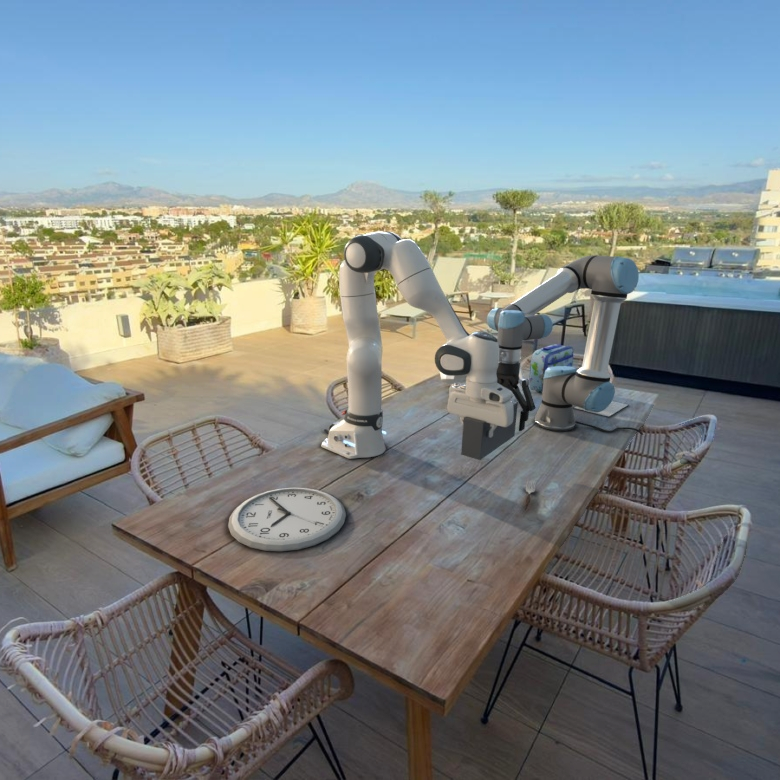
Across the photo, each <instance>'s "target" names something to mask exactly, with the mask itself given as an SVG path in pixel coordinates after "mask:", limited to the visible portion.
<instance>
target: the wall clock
mask: <svg viewBox="0 0 780 780" xmlns="http://www.w3.org/2000/svg"><path fill="white" fill-rule="evenodd" d="M346 518H347V513H346V509H345V506H344V505H343V503H341V501H340V500H339V499H338V498H336V497H334V496H332V495H331V494H330V493H327V492H324V491H321V490H318V489H313V488H308V487H283V488H277V489H272V490H267V491H264V492H261V493H258V494H255V495H253V496H252V497H250V498H248V499H246V500H244V501H243V502H242V503H240V504H239V505H238V506H237V507H236V508H234V510H233V511H232V513H231V514H230V516H229V518H228V524H227V528H228V530H229V532H230V535H231V536H232V538H234V539H235V540H236V541H237V542H238V543H239V544H242V545H244V546H246V547H249V548H251V549H256V550H261V551H266V552H287V551H288V552H289V551H299V550H302V549H306V548H310V547H313V546H316V545H318V544H320V543H323V542H325V541H328V540H329V539H330V538H332V537H333V536H334V535H336V534H337V533H339V531H340V530H341V528H342V527H343V526H344V524H345V521H346Z"/></svg>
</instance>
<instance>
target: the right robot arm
mask: <svg viewBox="0 0 780 780" xmlns="http://www.w3.org/2000/svg"><path fill="white" fill-rule="evenodd" d="M639 275H640V272H639V267H638V266H637V264H636V262H635V261H634V260H633V259H631V258H629V257H623V256H610V255H609V256H608V255H595V254H594V255H593V254H592V255H587V256H583V257H580V258H578V259H575V260H573V261H571V262H569V263H567V264H566V265H564V266H562V267H561V268H559V269H558V270H557V271H556V273H555V275H554V276H552V277H550V278H548V279H547V280H546V281H544V282H543V283H541V284H540V285H538V286H536V287H535V288H533V289H532V290H530V291H528V292H526V294H524V295H523V296H521V297H520V298H518V299H516V300H515V301H513V302H512V303H510V304H509V305H507V306H505V307H504V308H502V307H494V308H492V309H491V310H490V311H489V312H488V314H487V317H486V322H487V326H488V327H489V328H490V329H491V330H493V331H497V338H496V339H497V340H498V343H499V366H498V369H497V383H499V384H500V385H502V386H503V387H505V388H507V389H509V390H510V391H512V393H513V394H514V396H515V397H514V396H513V397H514V399H515V398H516V399H515V400H516V402H518V405H519V406H520V407H521V409H522V410H520V412H519V413H520V415H519V425H518V432H522V431H523V430H525V427H526V422H527V421H528V420H529V415H530V412H533V411H534V410H536V409H537V407H536V404H535V401H534V398H533V395H532V392H531V389H530V387H529V378H525V380H524V379H520V378H519V371H520V365H521V359H522V348H523V347H522V346H523V342H524V341H531V340H532V341H533V340H541V339H544V338H547V337H550V335H551V334H552V332H553V326H554V325H553V321H552V318H550V316H549V315H547V314H540V313H539V312H541V311H543V310H544V309H545V308H547V307H548V306H550V305H551V304H553V303H554V302H556V301H558V300H559V299H560V298H562V297H563V296H565V295H566V294H573V293H574V292H576V291H578V290H585V289H588V290H591V292H590V296H591V298H593V306H592V311H591V317H590V322H589V327H588V332H587V333H588V334H587V338H586V343H585V348H584V354H583V359H582V365H581V367H580V368H578V369H577V367H575V366H572V367H570V366H555V367H549V368H547V369H546V370H545V375H544V378H543V379H544V380H543V391H542V392H541V402H540V405H539V407H538V410H537V411H536V413H535V416H534V424H535V425H536V426H537V427H539V428H542V429H544V430H549V431H556V432H567V431H572V430H574V429H575V428H576V424H578V425H582V426H586V427H589V428H592V429H595V430H599V431H601V432H604V433H610V434H611V433H614V432H616V431H618V430H632V431H635V432H637V433H638V434H640V435H641V436H644V433H643V432H642V431H641V430H639V429H637V428H635V427H629V426H627V427H620V426H619V427H615V428H613V429H612V430H608V429H604V428H601V427H598V426H595V425H592V424H588V423H585V422H581V421H579V420H578V421H577V420H576V418H575V417H576V416H575V413H574V407H576V406H577V407H580V408H583V409H585V410H587V411H586V412H588V411H592V412H601V411H603V410H604V409H606V408H607V407H608V406H609V405H610V403H611V402H612V401H614V397H615V394H616V388H615V385H614V384H613V383H612V382H611V374H610V373H609V371H608V368H609V363H610V359H611V355H612V354H611V353H612V349H613V343H614V338H615V334H616V329H617V324H618V319H619V316H620V315H619V314H620V309H621V305H622V303H624V301H626V300H627V299H628V295H629V294H632V293H633V292H634V291H635V289H636V288H637V286H638V283H639ZM518 384H519V385H520V387H521V389H522V392H521V389H520V387H519V386H518ZM522 393H523V394H522ZM573 406H574V407H573ZM592 412H591V413H592Z"/></svg>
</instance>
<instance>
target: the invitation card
mask: <svg viewBox="0 0 780 780" xmlns="http://www.w3.org/2000/svg"><path fill="white" fill-rule="evenodd" d="M628 406H629V404H627V403H623V402H618V401H614V400H612V402H611V403H610V405H609V406H608V407H607V408H606V409H604V410H603V411H601V412H592V411H587V410H585V409H583V408H580V407H577V406H574V407H573V409H575V410H581V411H584V412H587V413H593V414H596V415H600V416H604V417H608V418H609V417H611V416H613V415H614V414H616V413H617V412H619V411H621V410H623V409H624V408H626V407H628Z"/></svg>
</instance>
